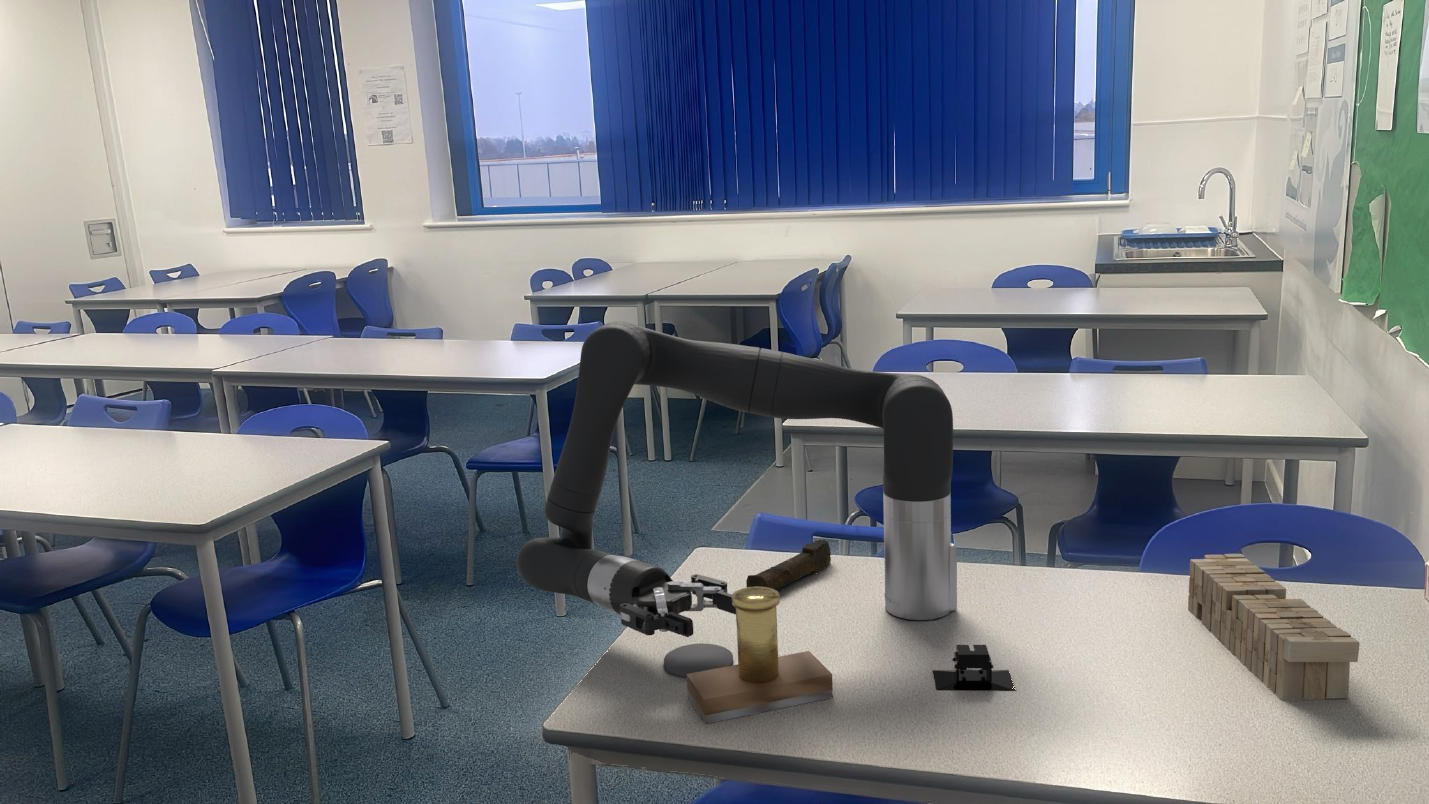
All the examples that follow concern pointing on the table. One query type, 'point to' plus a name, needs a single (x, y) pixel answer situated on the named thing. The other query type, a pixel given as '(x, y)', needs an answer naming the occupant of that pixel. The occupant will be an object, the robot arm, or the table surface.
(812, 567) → the hand tool
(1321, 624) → the block tower
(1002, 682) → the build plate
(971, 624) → the table surface
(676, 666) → the rubber pad
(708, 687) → the body
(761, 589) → the flanged brass cylinder
